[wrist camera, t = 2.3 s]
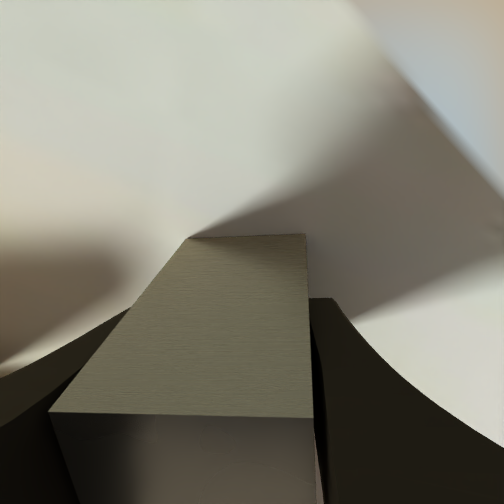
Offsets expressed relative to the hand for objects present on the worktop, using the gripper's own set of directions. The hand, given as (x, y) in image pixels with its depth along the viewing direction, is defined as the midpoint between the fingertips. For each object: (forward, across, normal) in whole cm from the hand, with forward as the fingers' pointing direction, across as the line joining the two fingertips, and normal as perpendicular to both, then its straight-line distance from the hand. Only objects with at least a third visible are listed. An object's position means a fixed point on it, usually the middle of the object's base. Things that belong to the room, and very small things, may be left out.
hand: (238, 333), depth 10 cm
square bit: (+2, 0, 0) cm, 2 cm away
